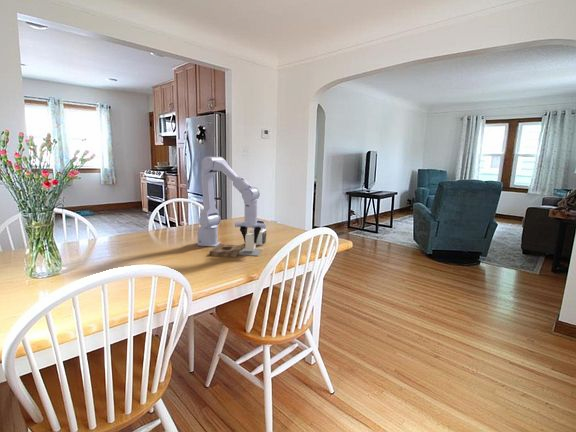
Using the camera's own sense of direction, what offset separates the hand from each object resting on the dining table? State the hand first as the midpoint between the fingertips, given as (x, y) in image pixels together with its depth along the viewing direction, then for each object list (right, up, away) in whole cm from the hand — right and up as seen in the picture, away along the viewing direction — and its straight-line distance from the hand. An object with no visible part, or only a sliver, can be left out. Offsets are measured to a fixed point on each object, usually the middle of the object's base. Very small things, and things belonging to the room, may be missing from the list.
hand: (250, 242), depth 148 cm
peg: (0, -3, 0) cm, 3 cm away
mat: (0, -5, +1) cm, 5 cm away
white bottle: (+2, -2, +17) cm, 17 cm away
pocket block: (-11, -5, 0) cm, 12 cm away
